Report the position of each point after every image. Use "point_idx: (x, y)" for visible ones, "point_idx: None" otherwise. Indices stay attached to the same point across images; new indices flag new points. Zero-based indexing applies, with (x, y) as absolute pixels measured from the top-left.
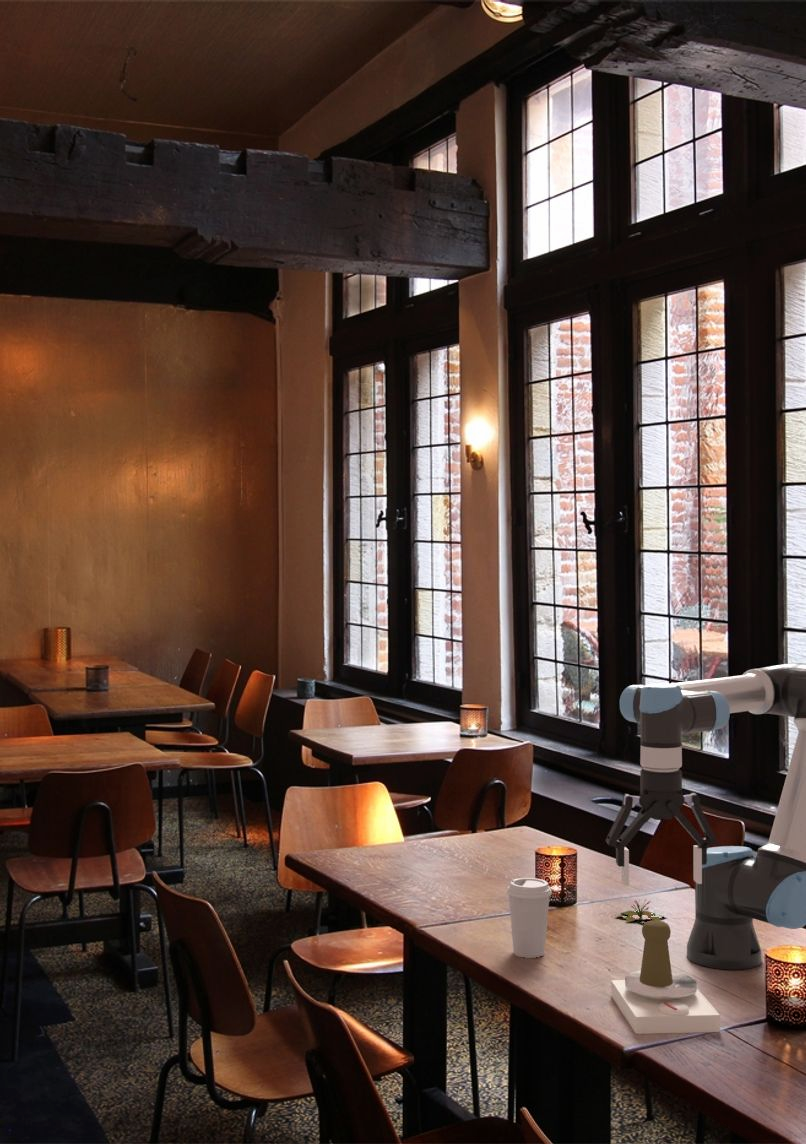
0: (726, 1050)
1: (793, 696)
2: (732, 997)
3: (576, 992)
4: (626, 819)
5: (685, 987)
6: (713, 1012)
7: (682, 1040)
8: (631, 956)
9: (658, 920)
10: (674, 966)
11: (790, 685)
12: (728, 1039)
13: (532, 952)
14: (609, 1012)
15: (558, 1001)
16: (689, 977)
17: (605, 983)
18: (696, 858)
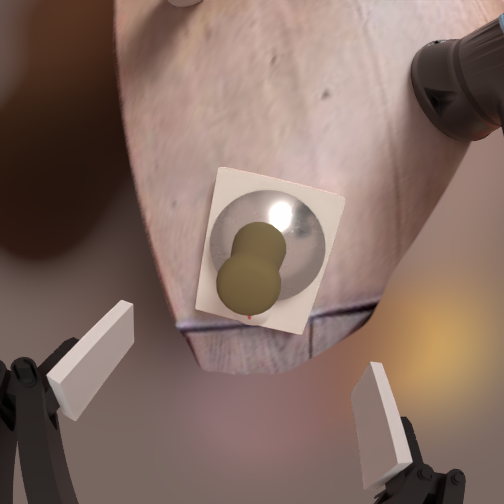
0: (277, 360)
1: None
2: (390, 226)
3: (182, 140)
4: (11, 501)
5: (289, 286)
6: (299, 326)
7: (245, 329)
8: (334, 24)
9: None
10: (380, 81)
11: None
12: (297, 340)
13: (181, 3)
14: (196, 225)
15: (147, 170)
16: (322, 248)
17: (239, 113)
18: (368, 449)
